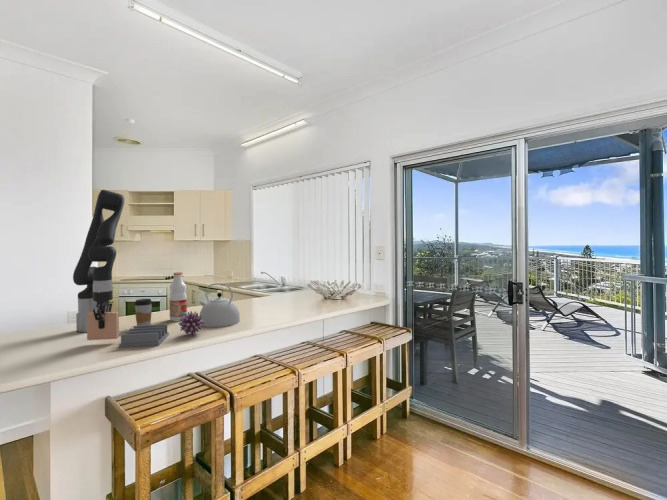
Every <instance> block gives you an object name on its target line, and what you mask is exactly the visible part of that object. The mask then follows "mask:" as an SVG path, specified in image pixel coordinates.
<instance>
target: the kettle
mask: <svg viewBox="0 0 667 500" xmlns="http://www.w3.org/2000/svg"><path fill="white" fill-rule="evenodd" d="M218 285H219V286H225V287H226V288H228V290H229V292H230V295H231V298H230V299H229V298H227V297H226V298H225V297H222V296H223V294H222V293H221V292H217V294H216V295H217V297H216V298H213V299H209V296H208V290H209V289H210V287H212V286H218ZM233 297H234V295H233V290H232V288H231V287H230V286H229V285H228V284H226V283H221V282H219V283H217V282H216V283H215V282H214V283H211V284H209V285H208V286H207V287H206V289H205V298H206V300H207V302H205V301H204V300H201V301H200V302H199V305H201V310H200V311H199V315H202V316H201V317H202V318H201V319H200V320H202V321H204V323H202V324H201V326H202V327H209V328H217V327H227V326H233V325H236V324H238V323H240V322H241V316H240V310H239V308H238V306H237V305H236V304H235V303H234V301H232V300H233Z"/></svg>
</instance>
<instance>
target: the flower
mask: <svg viewBox="0 0 667 500" xmlns="http://www.w3.org/2000/svg"><path fill="white" fill-rule="evenodd" d="M184 315H185V316H181V318H182V319H180V320H181V321H180V322H179V323H178V325H179V326H180V331H181V332H182V331H183V332H184V334H186V335H188V334H189V333H190V335H192V336H193V335H196V334H197V333H199V332H200V331H199V330H202V328H203V326H201V324H202V323H204V321H202V320H200V319H201V318H202V317H201V316H202V315H200V314H199V313H198V312H197V311H194V312H193V311H192V310H191V311H187V314H186V313H185V314H184Z"/></svg>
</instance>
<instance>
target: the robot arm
mask: <svg viewBox="0 0 667 500" xmlns="http://www.w3.org/2000/svg"><path fill="white" fill-rule="evenodd" d="M124 205H125V196H124V195H123V194H121V193H117V192H113V191H110V190H106V189H102V190H100V192H98V194H97V199H96V203H95V207H94V212H93V216H92V219H91V222H90V225H89V228H88V231H87V235H86V239H85V241H84V245H83V249H82V252H81V254H80V256H79V260H78V261H77V264H76V266H75V268H74V271H73V273H72V274H73V275H72V280H73V284H75V285H76V286H86V287H85V288H84V289H83V290H81V291H79V292H78V293H77V312H76V314H75V319H76V320H75V321H76V322H75V323H76V324H75V325H76V332H77V331H79V332H78V333H87V313H89V312H93V313H94V316H95V320H98V326H99V329H103V328H105V320H104V319H105V315H106V312H112V307H113V304H112V303H110V301H112V300H113V299H114V297H113V296H114V293H113V291H114V290H113V287H114V286H113V268H114V264H115V263H114V262H115V261H116V257H117V250H116V248H115V247H114V246H112V245H113V244H114V242H115V237H116V231H117V226H118V224H119V221H120V219H121V215H122V211H123V209H124ZM103 210H107V211H111V212H113V213H112V214H111V215H110V216H109V217H108V218H106V219H104V215H103ZM94 262H95V263H100V262H101V263H103V262H104V263H105V262H106V263H105V265H103V266H92V264H93V263H94ZM97 316H98V317H97Z"/></svg>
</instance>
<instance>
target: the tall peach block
mask: <svg viewBox="0 0 667 500" xmlns="http://www.w3.org/2000/svg"><path fill="white" fill-rule="evenodd" d="M119 313H120V311H111V312H106V315H105V319H104V320H105V328H103V329H99V326H98V320H95V316H94V313H93V312H89V313H87V332H86V340H87V341H95V340H96V341H98V340H117V339H119V338H120V316H119V315H120V314H119ZM97 317H98V316H97Z"/></svg>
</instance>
